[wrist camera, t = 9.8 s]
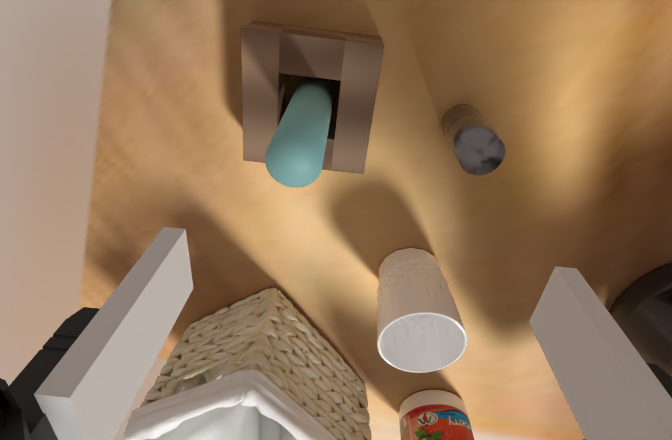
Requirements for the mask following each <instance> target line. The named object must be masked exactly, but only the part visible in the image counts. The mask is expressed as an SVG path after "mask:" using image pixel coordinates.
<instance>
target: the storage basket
mask: <svg viewBox="0 0 672 440" xmlns="http://www.w3.org/2000/svg"><path fill="white" fill-rule="evenodd" d="M367 408H368V401H367V394H366V387H365V385H364V383H363V382H362V381H361V380H360V379H359V378H358V376H357V375H356V374H355V373H354V372H353V371H352V370H351V368H350V367H349V366H348V364H346V363H345V362H344V361H343V359H342V357H341V356H340V355H339V354H338V353H337V352H336V351H335V350H334V349H333V348H332V346H331V345H330V344H329V343H328V342H327V341H326V340H325V339H324V338H323V337H322V336H320V334H319V333H318V332H317V330H316V329H315V328H313V327H312V326H311V325H310V324H309V323H308V321H307V320H306V319H305V317H304V316H303V315H302V314H300V313H299V312H298V310H297V309H296V308H295V307H294V306H293V305H292V303H291V302H290V301H289V300H287V298H286V297H285V296H284V295H283V294H282V293H281V292H280V290H277V289H276V288H271V289H266V290H263V291H261V292H259V293H258V294H254V295H251V296H249V297H248V298H246V299H244V300H241V301H238V302H236V303H234V304H233V305H232V306H230V307H225V308H222V309H220V310H218V311H217V312H216V313H214V314H212V315H208V316H206V317H204V318H203V319H201V320H200V321H197V322H194V323H192V324H191V325H190V326H188V328H187V329H186V330H185V331H184V333H183V336H182V337H181V338H180V340H179V342H178V343H177V344H176V346H175V349H174V350H173V351H172V352H171V354H170V357H169V358H168V360H167V363H166V365H165V366H164V367H163V368H162V370H161V373H160V376H158V378H157V379H156V382H155V385H154V386H153V387H152V388H151V389H150V390H149V392H148V393H147V395H146V397H145V399H144V401H143V402H142V404H141V406H140V407H139V408H137V409H135V410H134V411H133V412H132V413H131V416H130V418H129V420H128V425H127V427H126V430H125V433H124V437H125V440H371V430H370V426H369V420H370V418H369V413H368V410H367Z"/></svg>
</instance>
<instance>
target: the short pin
mask: <svg viewBox="0 0 672 440" xmlns="http://www.w3.org/2000/svg"><path fill="white" fill-rule="evenodd" d="M442 130H443V132H444V134H445V136H446V138H447V140H448V142H449V144H450V146H451V148H452V149H453V151H454V153H455V155H456V157H457V159H458V161H459V163H460V165H461V166H462V168H463V169H464V170H465V171H466V172H468V173H470V174H473V175H484V174H487V173H490V172H492V171H493V170H495V169H496V168H497V167H498V166H499V165H500V164H501V162H502V160H503V158H504V155H505V147H504V144H503V142H502V141H501V140H500V138H499V137H498V136H497V135H496V134H495V132H494V131H493V130H492V129H491V128H490V126H489V125H488V124H487V123H486V121H485V120H484V119H483V118H482V117H481V115H480V114H479V113H478V112H477V111H476V110H475V109H474V108H473V107H472V106H469V105H457V106H455V107H453V108H451V109H450V110H449V111H448V112H447V113H446V114H445V116H444V117H443V120H442Z"/></svg>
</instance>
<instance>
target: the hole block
mask: <svg viewBox="0 0 672 440" xmlns="http://www.w3.org/2000/svg"><path fill="white" fill-rule="evenodd" d="M383 47H384V45H383V42H382V39H381V37H377V36H369V35H361V34H352V33H344V32H336V31H328V30H320V29H312V28H304V27H296V26H288V25H279V24H271V23H263V22H255V21H253V22H251V23H249V24H247V25H246V26H244V27H242V28H241V58H242V112H243V160H246V161H254V162H263V163H265V154H266V151H267V148H268V146H269V144H270V142H271V140H272V138H273V136H274V134H275V132H276V129H277V127H278V125H279V123H280V121H281V119H282V117H283V115H284V113H285V87H286V74H291V75H299V76H308V77H316V78H324V79H333V80H341V85H340V94H339V103H338V112H337V122H336V123H332V122H330V123H329V129H328V136H327V142H326V148H325V154H324V160H323V166H322V169H324V170H332V171H341V172H350V173H358V174H363V173H364V167H365V160H366V154H367V148H368V141H369V135H370V129H371V123H372V116H373V110H374V104H375V97H376V91H377V85H378V79H379V72H380V66H381V60H382V53H383Z"/></svg>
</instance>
